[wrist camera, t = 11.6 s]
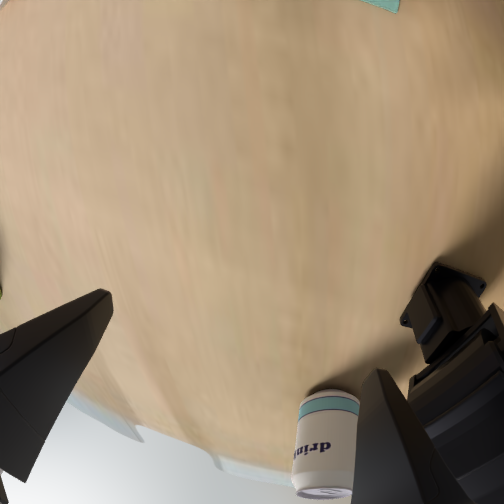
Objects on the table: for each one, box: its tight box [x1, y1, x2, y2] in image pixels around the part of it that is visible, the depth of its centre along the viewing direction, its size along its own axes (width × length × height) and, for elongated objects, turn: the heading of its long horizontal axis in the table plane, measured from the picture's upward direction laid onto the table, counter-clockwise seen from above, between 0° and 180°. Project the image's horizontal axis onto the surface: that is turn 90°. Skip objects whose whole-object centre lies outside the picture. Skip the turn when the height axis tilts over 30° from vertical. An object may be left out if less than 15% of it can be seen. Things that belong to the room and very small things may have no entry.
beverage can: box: [291, 389, 360, 500], centre depth 25 cm, size 7×7×12 cm
